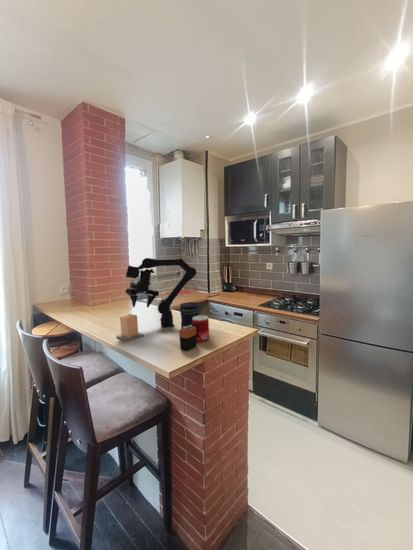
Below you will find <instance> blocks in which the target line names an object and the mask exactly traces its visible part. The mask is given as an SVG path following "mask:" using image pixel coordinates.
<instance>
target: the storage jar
mask: <svg viewBox="0 0 413 550" xmlns="http://www.w3.org/2000/svg"><path fill="white" fill-rule="evenodd" d="M179 306H180V308H179V310H180V311H179V312H180V319H181V321H180V329H182V328H183V327H185V326H189V325H192V318H193V317H194V316H199V313H200V308H199V302H195V301H189V302H187V301H186V302H183V303H180V304H179ZM192 326H193V325H192Z"/></svg>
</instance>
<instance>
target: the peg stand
mask: <svg viewBox="0 0 413 550" xmlns="http://www.w3.org/2000/svg"><path fill="white" fill-rule="evenodd" d="M144 336H145V334H144V333H141V332H139V331H138V335H135V336H132V337H129V338H128V337H125V336H122V335H121V333H120V334H118V335H116V336H115V337H117V339H119V338H120V339H119V340H121V339H122V341H124V340H125V341H124V342H126V341H127V342H129V340H130V341H133V340H135V339H140V338H141V337H142V338H143V337H144ZM132 339H133V340H132Z"/></svg>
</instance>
